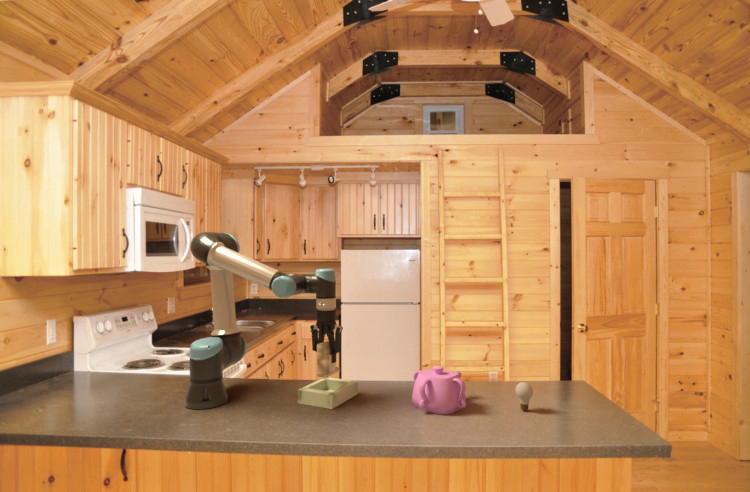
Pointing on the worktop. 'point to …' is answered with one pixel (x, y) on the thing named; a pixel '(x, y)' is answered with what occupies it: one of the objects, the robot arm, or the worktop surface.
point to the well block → (327, 392)
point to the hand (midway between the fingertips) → (326, 370)
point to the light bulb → (524, 394)
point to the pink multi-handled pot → (439, 391)
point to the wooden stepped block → (324, 360)
